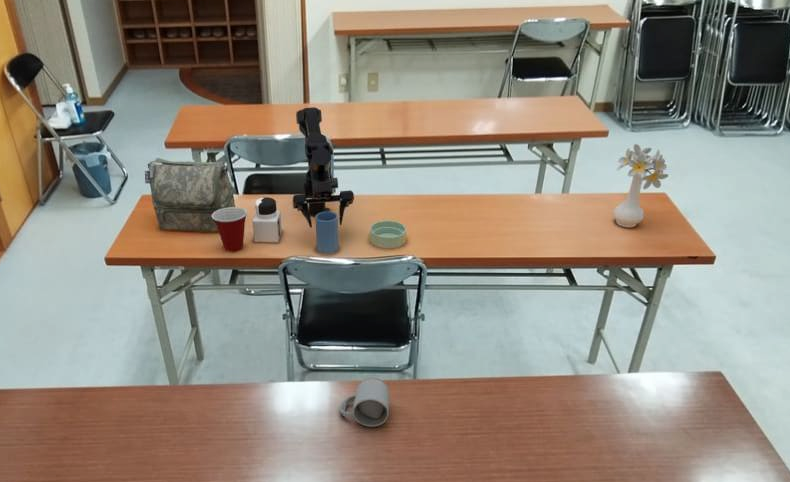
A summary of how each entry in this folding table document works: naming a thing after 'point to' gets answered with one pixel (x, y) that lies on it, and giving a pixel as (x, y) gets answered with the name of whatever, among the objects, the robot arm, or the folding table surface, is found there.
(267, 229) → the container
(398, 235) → the bowl
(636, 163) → the flower vase
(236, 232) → the plastic cup
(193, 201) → the lunch bag
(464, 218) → the folding table surface
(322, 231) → the tumbler
